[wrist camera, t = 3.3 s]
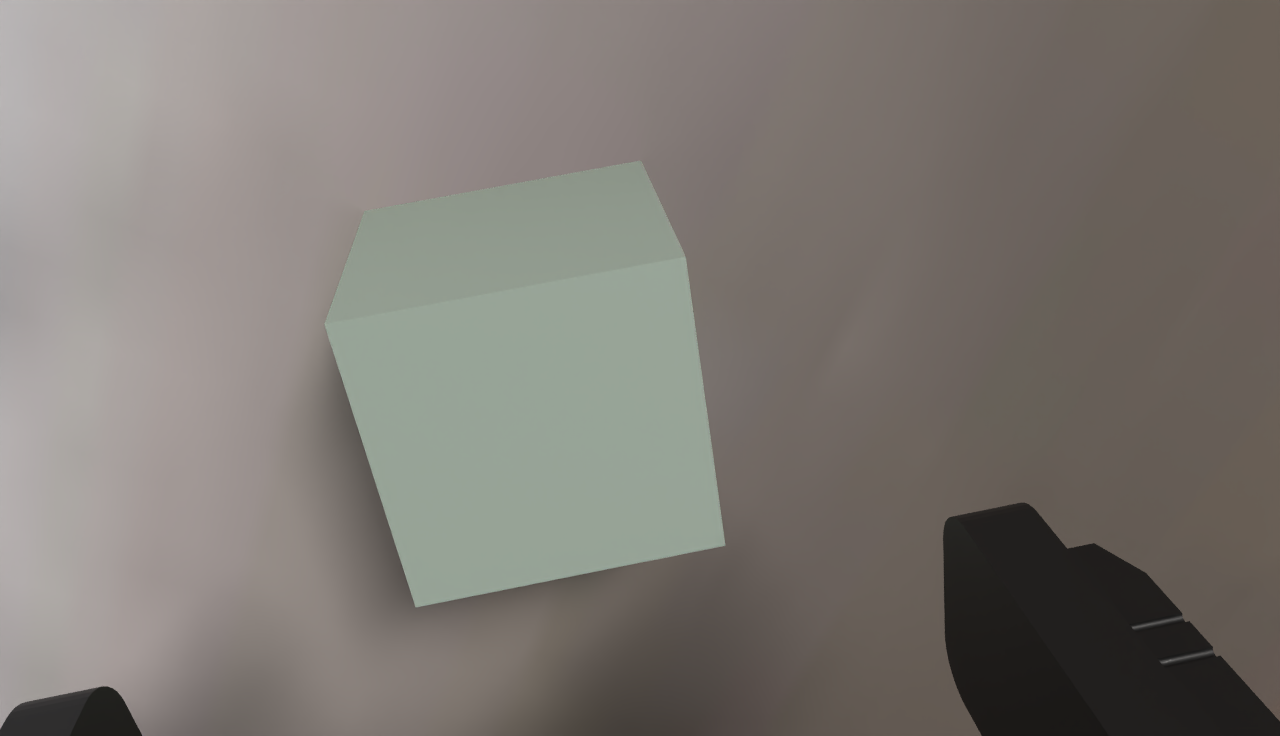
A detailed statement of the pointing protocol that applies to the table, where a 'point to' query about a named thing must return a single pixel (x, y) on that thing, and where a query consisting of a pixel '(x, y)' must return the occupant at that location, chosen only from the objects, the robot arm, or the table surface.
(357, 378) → the sage cube
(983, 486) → the table surface
